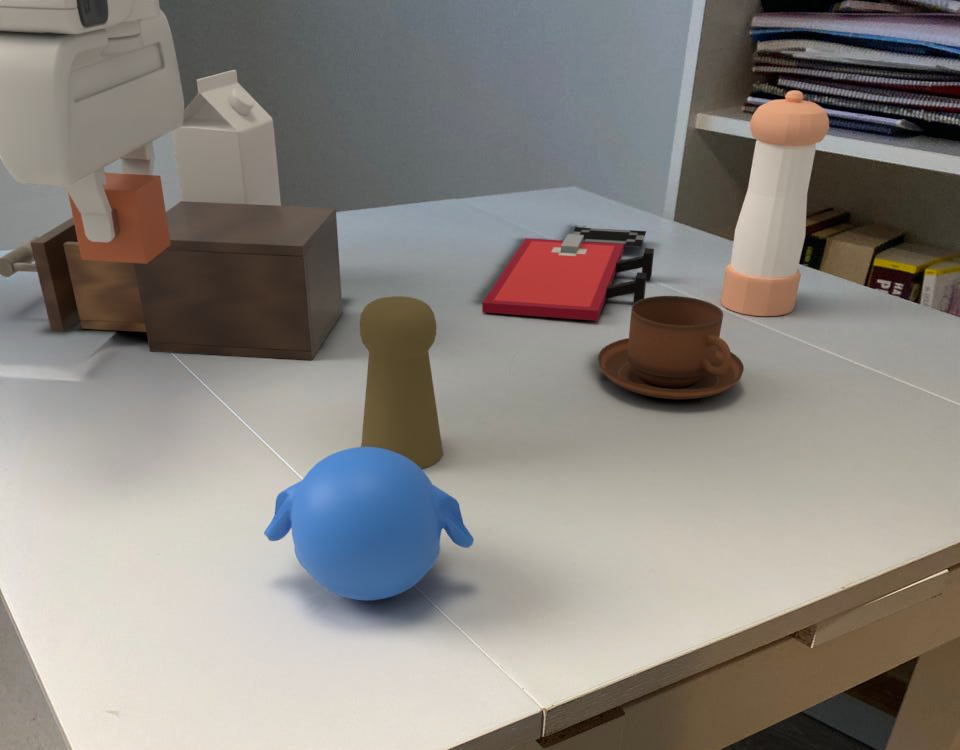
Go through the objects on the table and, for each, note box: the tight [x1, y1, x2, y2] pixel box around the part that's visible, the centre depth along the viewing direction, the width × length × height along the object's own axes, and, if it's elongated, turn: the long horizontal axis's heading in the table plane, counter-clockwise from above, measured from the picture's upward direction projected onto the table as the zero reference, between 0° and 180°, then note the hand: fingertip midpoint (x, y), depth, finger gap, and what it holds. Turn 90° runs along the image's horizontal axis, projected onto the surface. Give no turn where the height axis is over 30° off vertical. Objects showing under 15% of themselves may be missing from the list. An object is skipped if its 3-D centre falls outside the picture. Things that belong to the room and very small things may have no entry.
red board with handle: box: [481, 226, 655, 322], centre depth 108 cm, size 30×3×15 cm
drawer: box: [0, 216, 146, 333], centre depth 91 cm, size 18×11×8 cm, turn 84°
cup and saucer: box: [597, 295, 745, 400], centre depth 83 cm, size 12×12×6 cm
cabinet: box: [134, 200, 343, 361], centre depth 90 cm, size 15×13×10 cm
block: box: [67, 172, 171, 264], centre depth 67 cm, size 4×4×4 cm
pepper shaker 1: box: [359, 295, 444, 470], centre depth 70 cm, size 6×6×11 cm
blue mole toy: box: [263, 446, 475, 601], centre depth 58 cm, size 12×12×8 cm
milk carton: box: [171, 69, 282, 206], centre depth 99 cm, size 7×7×19 cm
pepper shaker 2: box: [720, 90, 830, 317], centre depth 96 cm, size 7×7×19 cm
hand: (122, 227), depth 68 cm, fingers closed on block, 4 cm apart
